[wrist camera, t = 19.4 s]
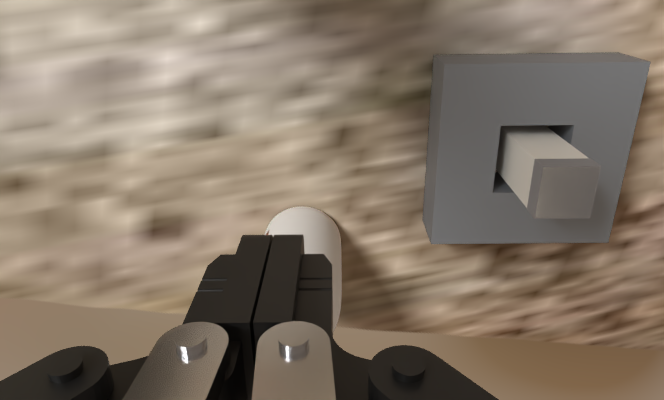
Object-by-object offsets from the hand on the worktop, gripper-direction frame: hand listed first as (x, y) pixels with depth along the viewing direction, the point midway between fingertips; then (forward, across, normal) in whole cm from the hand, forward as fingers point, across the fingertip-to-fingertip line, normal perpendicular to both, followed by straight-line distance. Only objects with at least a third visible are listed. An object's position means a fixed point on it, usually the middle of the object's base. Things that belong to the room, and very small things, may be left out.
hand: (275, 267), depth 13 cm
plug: (+35, -18, +8) cm, 40 cm away
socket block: (+35, -18, +8) cm, 40 cm away
